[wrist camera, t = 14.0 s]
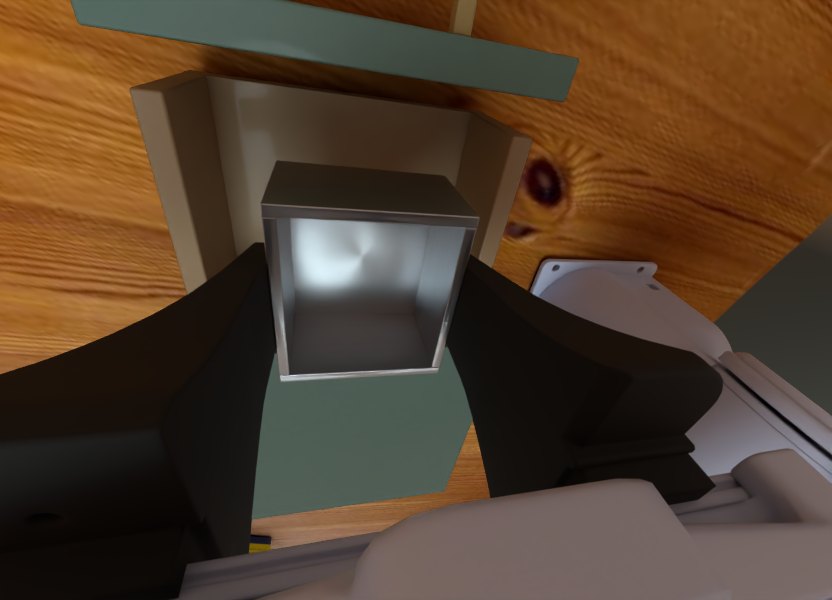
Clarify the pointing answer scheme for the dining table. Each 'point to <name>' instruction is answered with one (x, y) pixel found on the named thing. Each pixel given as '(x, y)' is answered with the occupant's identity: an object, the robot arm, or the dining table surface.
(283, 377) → the open metal box
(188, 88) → the drawer
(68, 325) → the dining table surface
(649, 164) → the dining table surface
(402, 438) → the cabinet
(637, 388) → the robot arm
